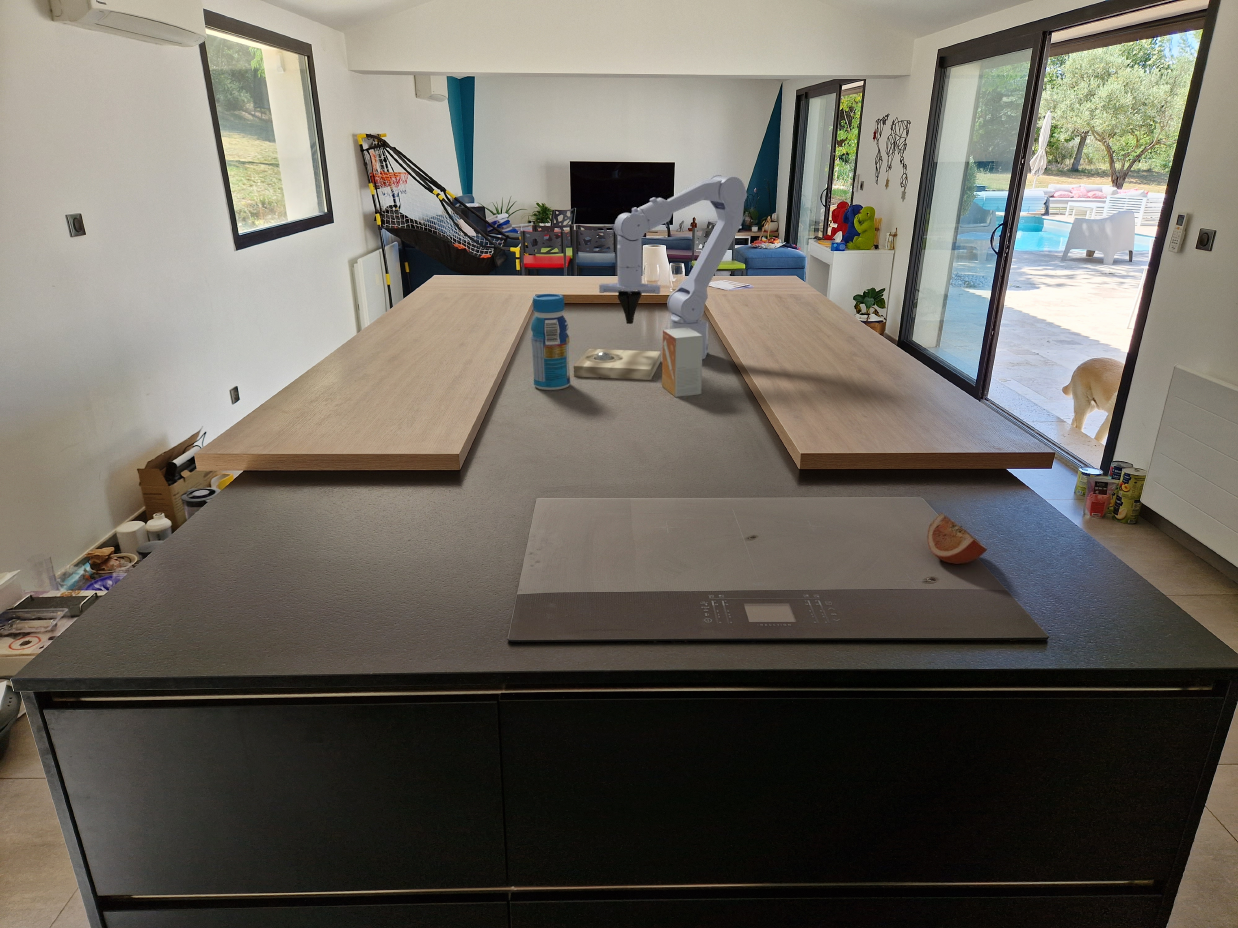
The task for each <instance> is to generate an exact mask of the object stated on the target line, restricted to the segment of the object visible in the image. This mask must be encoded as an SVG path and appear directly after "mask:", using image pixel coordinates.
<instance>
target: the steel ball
mask: <svg viewBox="0 0 1238 928" xmlns="http://www.w3.org/2000/svg"><path fill="white" fill-rule="evenodd" d="M595 360H599V361H608V360H612V358H611V356H610V354H608V353H607V352H600V353H598V354H597V356H596V358H595Z"/></svg>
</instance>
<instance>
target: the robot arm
mask: <svg viewBox="0 0 1238 928" xmlns="http://www.w3.org/2000/svg"><path fill="white" fill-rule="evenodd" d="M747 196H748V193H747V190H746V186H745V184H744V182H743V180H741V178H739V177H737V176H723V175H721V174H717V175H716V174H715V175H713V176H711V177H710V178H705V179H702V180H701V181H699V182H697V183H695V184H693V185H692V186H690V187H688V188H686V189H685V190H683V191H681V192H679V193H677V194H675V195H673V196H671V197H669V198H667V200H666V199H664V198H662V197H652V198H650V199H649V202H648V203H646V204H644V205H642V206H639V207H638V208H637V207H632V208H631V213H630V212H623V213H621V214H619V215H618V216H617V218H616V219H615V221H614V224H613V231H614V233H615V235H617V249H616V251H617V282H616V283H615V282H613V283H612V282H611V283H600V284H599V285H598V286H599V287H598V288H599V289H598V290H599V291H598V292H599V294H604V293H609V294H613V293H614V294H616V293H617V299H618V302H619V304H620V305H621V308H622V310H623V312H624V313H623V314H624V317H625V321H626V322H625V323H626V324H627V325H633V323H634V319H635V314H636V311H637V307H638V304H639V303H640V302H639V301H640V300H641V297H642V295H643V294H652V295H653V294H655V295H661V284H653V283H643V282H642V281H643V280H642V279H643V278H642V276H643V275H642V273H643V271H642V269H643V267H642V264H643V263H642V262H643V261H642V260H643V259H642V258H643V257H642V255H643V253H642V250H643V246H642V238H643V237H644V235H645V233H647V232H649V231H651V230H653V229H656V228H657V227H660V226H661V225H663V224H666V223H667V222H670V221H671V218H672V217H673V214H674V213H676V212H679V211H680V210H683V209H685V208H687V207H690V206H692V205H694V204H697V203H699V202H701V201H707V202H710V204H711V205H712V206H713V208H714V209H715V210H714V211H715V212H716V217H717V222H716V224H715V225H714V228H713V230H712V231H711V234H710V235H709V237H708V239H707V241H706V243H705V244H704V246H703V248H702V250H701V251H700V254H699V256H698V258H697V260H696V261H695V264H694V265H693V267H692V269H691V271H690V272H689V274H688V276H687V278H686V279H684V280H683V281H682V282H680V283H679V285H678V286H677V288H676V290H675V289H674V291H673V292H671V294H669V296H668V298H667V302H666V303H667V304H666V305H667V309H668V311H669V312H670V313H671V316H670V329H675V328H690V329H692V330H694V331H696V332H697V333H699V334H701V335H702V336H703V346H702V360H705V359H706V357H707V354H708V351H709V343H708V342H709V322H708V321H707V320H701V318H702V316H704V312H705V305H706V302H707V301H708V298H709V297H708V287H709V285H710V283H711V281H712V280H713V277H714V275H715V274H716V271H717V270H718V268H719V266H720V265H721V262H722V261H723V259H724V257H725V256H726V253H727V252H728V250H729V248H730V246H731V244H732V243H733V240H734V238H735V237H736V235H737V233H738V231H739V229H740V227H741V225H742V224H743V219H744V206H745V200H746V199H747V198H748V197H747Z"/></svg>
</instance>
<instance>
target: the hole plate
mask: <svg viewBox="0 0 1238 928" xmlns="http://www.w3.org/2000/svg"><path fill="white" fill-rule="evenodd" d="M600 352H607V353H608V354H610V356H611V358H612V360H608V361H599V360H595V358H596V356H597V354H598V353H600ZM661 361H662V351H657V350H655V351H653V350H630V349H629V350H627V349H605V348H604V349H603V348H602V349H601V348H589V349H588V350H586V352H585V353H584V354H583V355H582V356H581V357H580V358H579V359H578V360H577V362H576V363H574V365H573V377H581V378H585V377H586V378H599V377H601V378H602V379H603V378H604V379H622V380H623V379H624V380H644V381H645V380H646V381H647V380H649V381H651V380H652V378H653V376H654V374H655V373H656V371H657V369H658V367H659V365H660V363H661Z"/></svg>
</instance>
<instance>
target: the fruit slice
mask: <svg viewBox="0 0 1238 928" xmlns="http://www.w3.org/2000/svg"><path fill="white" fill-rule="evenodd" d="M926 537H927V538H926V539H927V545H928V549H929V550H930V552H931V553H932V554H933V555H934V556H935V557H936V558H938V559H939V560H941V561H942V562H946V563H949V564H957V565H959V564H960V565H961V564H965V563H969V562H971V561H972V562H973V561H974V560H976V559H979V558H980V557H981V556H983V554H985V553H986V552H987V550H988V548H987V547H986V546H984V545H983V543H981V542H980V541H979V540H978V539H976V538H975V537H974V536H973V535H972V534H971V533H969V532H968V531H967V530H966V529H965V528H963V525H959V524H958V523H956V522H955V521H954V520H952V519H951V518H949V517H948V516H947V515H945V514H944V513H943V512H940V513H939V514H938V516H936V518H935V519H933V521H932V522H931V523H930V524H929V525H928V530H927V535H926Z"/></svg>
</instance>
